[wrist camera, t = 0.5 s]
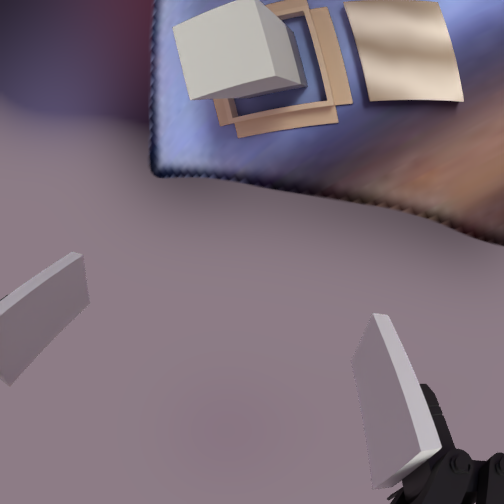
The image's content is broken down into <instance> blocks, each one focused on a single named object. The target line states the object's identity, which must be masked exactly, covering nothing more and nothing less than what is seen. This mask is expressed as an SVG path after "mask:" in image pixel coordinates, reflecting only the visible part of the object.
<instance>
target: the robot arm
mask: <svg viewBox="0 0 504 504" xmlns="http://www.w3.org/2000/svg"><path fill="white" fill-rule="evenodd" d="M89 304H90V300H89V294H88V287H87V280H86V272H85V264H84V256H83V254H79V253H75V252H71V253H70V254H68V255H67V256H65V257H63V258H62V259H60V260H59V261H57V262H56V263H54V264H52V265H51V266H49V267H48V268H46V269H45V270H43V271H42V272H40V273H39V274H37V275H36V276H34V277H33V278H32V279H30V280H29V281H28V282H26V283H24V284H23V285H22V286H20V287H19V288H17V289H16V290H15V291H14V292H12V293H11V294H9V295H6V296H5V297H4V298H3V299H1V300H0V379H1V380H2V381H3V382H5V383H6V384H7V385H8V386H11V385H12V384H13V383H14V381H15V380H16V379H17V378H18V377H19V376H20V374H21V373H22V372H23V371H24V370H25V369H26V368H27V367H28V366H29V365H30V364H31V363H32V362H33V360H34V359H35V358H36V357H37V356H38V355H39V354H40V353H41V352H42V351H43V350H44V348H46V347H47V346H48V345H49V344H50V343H51V341H52V340H53V339H54V338H55V337H56V336H57V335H58V334H59V333H60V332H61V331H62V330H63V329H64V328H65V327H66V326H67V325H68V324H69V323H70V322H71V321H72V320H74V319H75V318H76V317H77V316H78V315H79V313H81V312H82V311H83V310H84V309H85V308H86V307H87V306H88V305H89ZM351 364H352V368H353V373H354V378H355V382H356V387H357V392H358V397H359V403H360V408H361V414H362V419H363V425H364V430H365V437H366V443H367V450H368V456H369V464H370V472H371V480H372V489H373V490H374V489H382V488H389V487H393V486H394V485H396V484H397V483H399V482H400V481H401V480H402V483H403V487H402V488H401V489H399V490H398V491H396V492H395V493H393V494H391V495H390V496H389V497H388V498H387V500H390V499H392V498H393V497H394V499H393V500H392V502H391V503H390V504H474V503H476V504H504V454H503V453H496V454H494V455H493V456H492V457H491V458H489V459H488V460H487V461H476V460H472V459H471V457H470V456H469V454H467V453H466V452H465V451H464V450H460V449H456V448H455V446H454V443H453V440H452V437H451V435H450V432H449V429H448V426H447V424H446V421H445V418H444V416H442V411H441V408H440V407H439V403H438V401H437V398H436V396H435V394H434V393H433V391H432V390H431V389H430V388H429V387H428V385H427V384H419V382H418V380H417V378H416V375H415V373H414V371H413V368H412V366H411V363H410V361H409V359H408V357H407V354H406V352H405V350H404V348H403V346H402V343H401V342H400V339H399V337H398V335H397V333H396V331H395V328H394V326H393V324H392V322H391V320H390V318H389V316H388V315H383V314H376V313H372V316H371V318H370V320H369V323H368V325H367V327H366V329H365V332H364V334H363V336H362V338H361V341H360V343H359V345H358V347H357V349H356V351H355V353H354V355H353V357H352V360H351Z"/></svg>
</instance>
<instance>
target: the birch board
mask: <svg viewBox="0 0 504 504" xmlns="http://www.w3.org/2000/svg"><path fill="white" fill-rule="evenodd" d="M343 3H344V8H345V10H346V13H347V16H348V19H349V23H350V26H351V29H352V32H353V35H354V39H355V42H356V46H357V50H358V53H359V57H360V61H361V65H362V69H363V73H364V78H365V82H366V87H367V92H368V97H369V101H387V100H441V101H459V102H464V99H463V93H462V87H461V82H460V77H459V72H458V67H457V63H456V59H455V54H454V51H453V47H452V43H451V40H450V36H449V33H448V30H447V27H446V24H445V21H444V18H443V15H442V12H441V9H440V7H439V4H438V2H429V1H416V0H361V1H348V2H343Z"/></svg>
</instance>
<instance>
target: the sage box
mask: <svg viewBox="0 0 504 504" xmlns="http://www.w3.org/2000/svg"><path fill="white" fill-rule="evenodd" d="M172 28H173V32H174V37H175V41H176V45H177V49H178V53H179V58H180V62H181V66H182V70H183V74H184V78H185V82H186V86H187V90H188V94H189V98H190V100H202V99H225V98H253V97H258V96H262V95H266V94H271V93H276V92H281V91H286V90H291V89H297V88H303V87H308V85H307V81H306V77H305V73H304V69H303V65H302V61H301V57H300V53H299V50H298V46H297V43H296V39H295V36H294V32H293V31H292V30H291V29H290V28H289V27H288V26H286V25H285V24H284V23H283V22H282V21H281V20H280V19H279V18H278V17H277V16H276V15H275V14H274V13H273V12H272V11H271V10H269V9H268V8H267V7H266V6H265V5H264V4H263V3H261V2H260V1H259V0H236V1H233V2H230V3H228V4H225V5H222V6H219V7H217V8H214V9H212V10H209V11H207V12H205V13H202V14H200V15H198V16H195V17H193V18H191V19H189V20H186V21H184V22H182V23H180V24H178V25H176V26H174V27H172Z"/></svg>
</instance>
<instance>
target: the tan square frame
mask: <svg viewBox="0 0 504 504" xmlns="http://www.w3.org/2000/svg"><path fill="white" fill-rule="evenodd" d="M265 6H266V7H267V8H268V9H269V10H271V11H272V12H273V13H274V14H275V15H276V16H277V17H278V18H279V19H280V20H285V19H289V18H294V17H299V16H305V17H306V21H307V24H308V27H309V30H310V34H311V37H312V41H313V44H314V48H315V51H316V55H317V59H318V63H319V67H320V71H321V75H322V79H323V83H324V88H325V92H326V97H327V101H320V102H312V103H306V104H299V105H293V106H287V107H282V108H276V109H271V110H266V111H262V112H257V113H252V114H248V115H244V116H239V117H238V113H237V109H236V105H235V101H234V98H225V99H213V101H214V105H215V109H216V112H217V116H218V120H219V124H220V126H224V125H228V124H232V123H234V124H235V128H236V132H237V136H238V138H242V137H247V136H252V135H257V134H262V133H267V132H273V131H279V130H285V129H291V128H298V127H305V126H313V125H321V124H329V123H338V117H337V111H336V106H335V105H343V104H353V102H352V97H351V92H350V87H349V83H348V78H347V74H346V70H345V66H344V62H343V58H342V54H341V50H340V47H339V43H338V40H337V36H336V33H335V30H334V26H333V23H332V20H331V17H330V14H329V11H328V8H327V7H321V8H315V9H310V8H309V5H308V2H307V0H284V1H279V2H275V3H271V4H268V5H265Z"/></svg>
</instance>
